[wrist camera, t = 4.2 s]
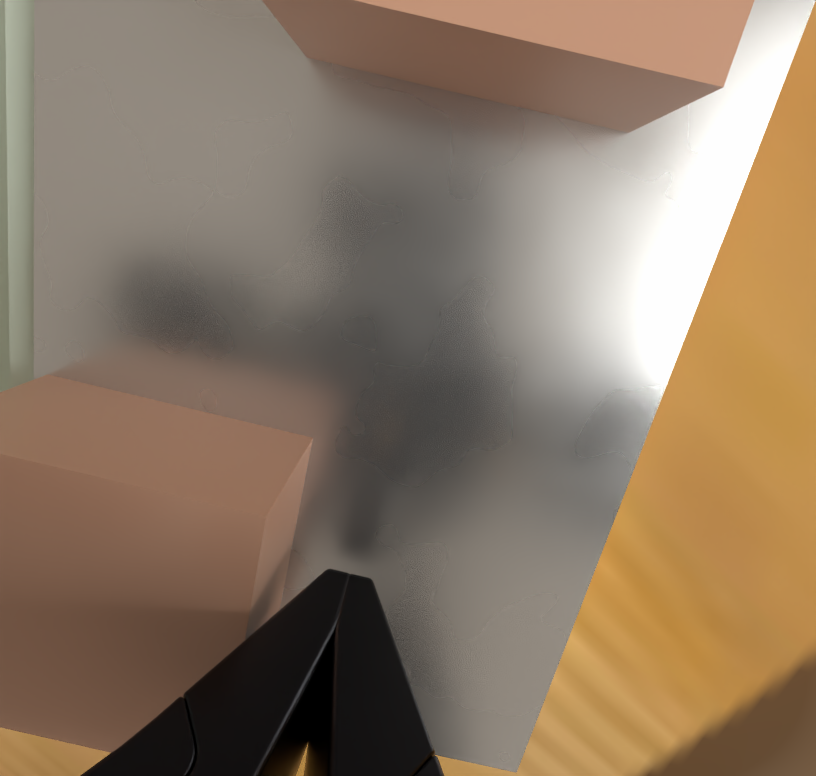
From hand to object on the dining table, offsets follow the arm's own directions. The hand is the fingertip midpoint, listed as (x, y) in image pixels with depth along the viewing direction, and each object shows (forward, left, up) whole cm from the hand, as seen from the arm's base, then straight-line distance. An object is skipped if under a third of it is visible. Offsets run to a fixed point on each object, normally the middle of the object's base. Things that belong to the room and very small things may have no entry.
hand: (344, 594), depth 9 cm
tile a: (0, +3, -1) cm, 3 cm away
